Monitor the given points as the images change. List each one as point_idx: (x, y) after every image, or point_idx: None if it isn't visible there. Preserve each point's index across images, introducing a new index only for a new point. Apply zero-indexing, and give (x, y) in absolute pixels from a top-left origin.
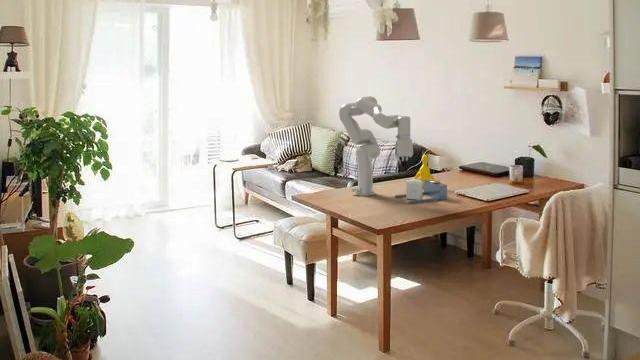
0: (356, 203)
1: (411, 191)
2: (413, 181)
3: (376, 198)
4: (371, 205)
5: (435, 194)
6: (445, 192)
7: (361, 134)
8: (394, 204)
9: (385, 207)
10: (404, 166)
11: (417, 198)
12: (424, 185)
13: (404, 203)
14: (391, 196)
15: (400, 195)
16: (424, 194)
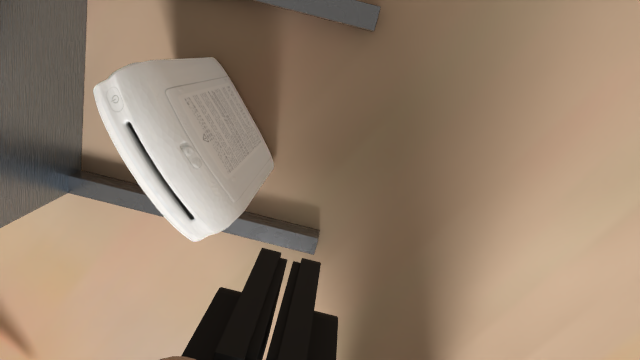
0: (635, 300)
1: (240, 138)
2: (190, 147)
3: (424, 311)
4: (616, 189)
5: (60, 6)
6: None
7: None
8: (469, 94)
9: (600, 65)
10: (304, 270)
11: (228, 79)
12: (26, 202)
13: (386, 64)
14: None
15: (279, 228)
16: (83, 171)
